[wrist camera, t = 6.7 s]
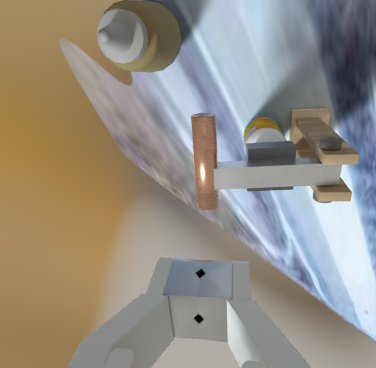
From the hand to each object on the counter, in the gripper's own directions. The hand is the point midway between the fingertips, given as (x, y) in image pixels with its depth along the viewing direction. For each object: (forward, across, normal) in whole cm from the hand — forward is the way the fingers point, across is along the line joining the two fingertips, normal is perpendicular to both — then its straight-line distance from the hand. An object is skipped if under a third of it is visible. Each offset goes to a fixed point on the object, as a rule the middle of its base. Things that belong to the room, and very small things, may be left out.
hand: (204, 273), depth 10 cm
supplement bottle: (+36, -5, +6) cm, 37 cm away
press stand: (+36, -10, +6) cm, 38 cm away
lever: (+24, -4, +5) cm, 25 cm away
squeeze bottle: (+36, +10, -8) cm, 38 cm away
